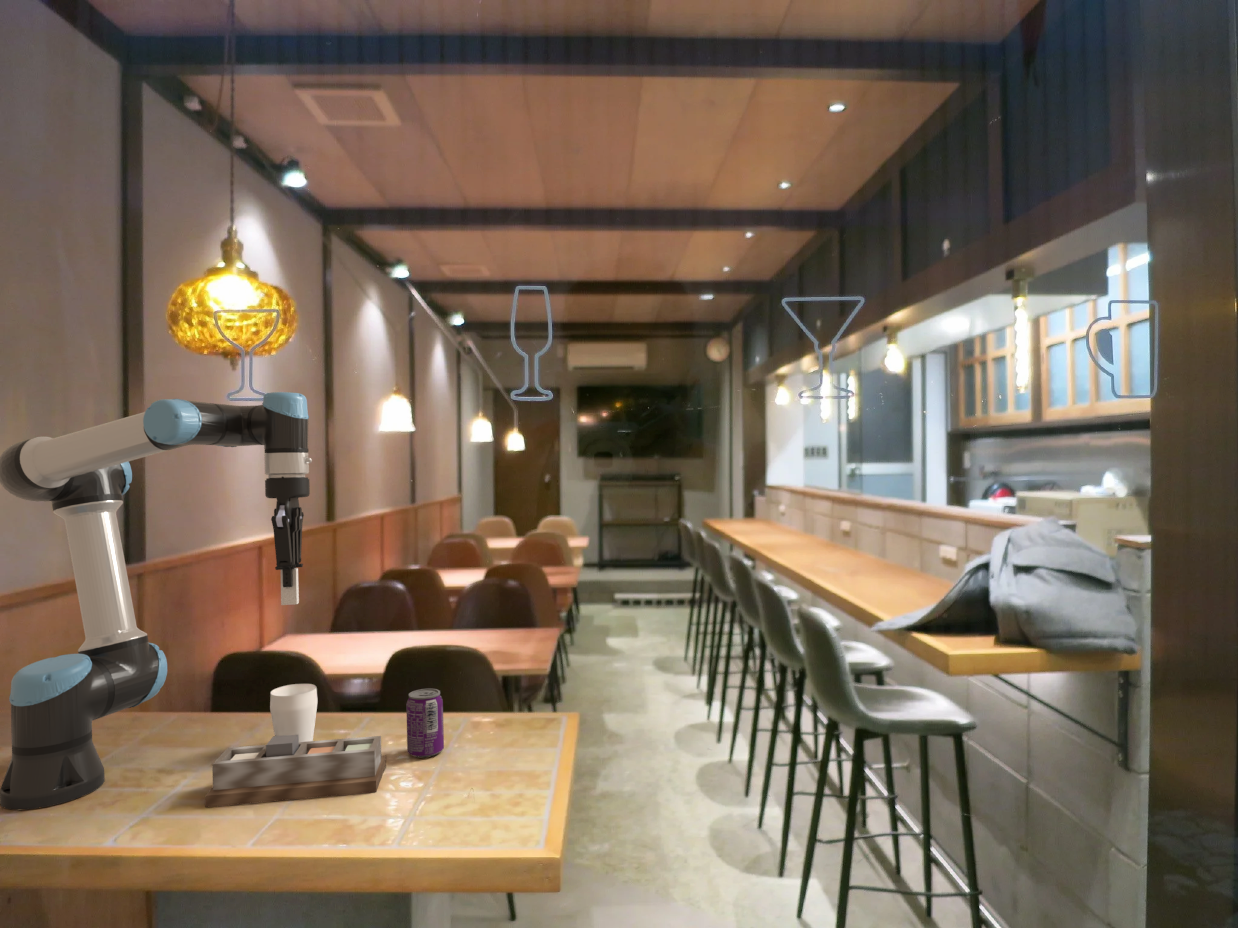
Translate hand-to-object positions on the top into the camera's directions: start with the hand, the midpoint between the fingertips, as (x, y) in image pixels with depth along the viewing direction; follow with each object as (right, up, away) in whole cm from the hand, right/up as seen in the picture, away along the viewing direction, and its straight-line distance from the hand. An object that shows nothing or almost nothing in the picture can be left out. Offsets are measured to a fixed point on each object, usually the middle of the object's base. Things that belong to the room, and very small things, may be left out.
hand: (290, 603), depth 139 cm
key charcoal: (0, -27, -3) cm, 27 cm away
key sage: (+13, -29, -1) cm, 32 cm away
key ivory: (-6, -30, -4) cm, 31 cm away
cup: (-6, -33, +16) cm, 37 cm away
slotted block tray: (+3, -32, -3) cm, 33 cm away
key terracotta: (+7, -30, -2) cm, 30 cm away
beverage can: (+22, -32, +12) cm, 41 cm away
